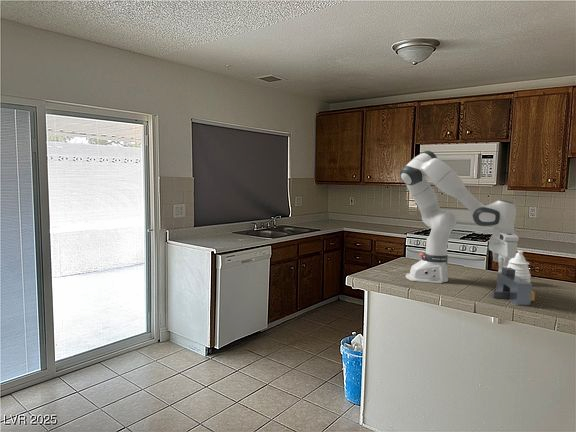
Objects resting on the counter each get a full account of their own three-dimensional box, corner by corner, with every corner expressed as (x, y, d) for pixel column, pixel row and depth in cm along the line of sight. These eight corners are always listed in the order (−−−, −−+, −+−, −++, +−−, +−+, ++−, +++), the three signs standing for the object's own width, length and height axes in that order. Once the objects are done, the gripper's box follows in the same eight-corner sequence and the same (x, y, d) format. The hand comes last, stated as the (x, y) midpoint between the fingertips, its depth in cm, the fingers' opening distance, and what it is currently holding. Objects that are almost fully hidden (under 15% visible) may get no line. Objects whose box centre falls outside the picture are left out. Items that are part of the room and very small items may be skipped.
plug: (494, 299, 193) (495, 290, 192) (490, 296, 197) (491, 288, 197) (534, 300, 192) (535, 292, 191) (529, 298, 196) (530, 289, 196)
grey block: (516, 305, 184) (518, 276, 183) (496, 291, 205) (498, 266, 204) (530, 305, 184) (532, 277, 183) (508, 292, 205) (510, 266, 203)
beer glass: (494, 273, 245) (496, 248, 244) (505, 273, 246) (507, 248, 244) (501, 276, 238) (503, 250, 237) (512, 276, 239) (514, 250, 237)
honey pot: (533, 286, 217) (536, 253, 215) (507, 284, 219) (510, 251, 217) (524, 280, 229) (527, 249, 227) (500, 279, 232) (502, 247, 230)
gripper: (486, 231, 203) (484, 258, 204) (506, 237, 182) (503, 268, 184) (499, 231, 202) (496, 259, 204) (520, 238, 182) (517, 268, 183)
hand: (500, 263), depth 194 cm, fingers open, 8 cm apart
